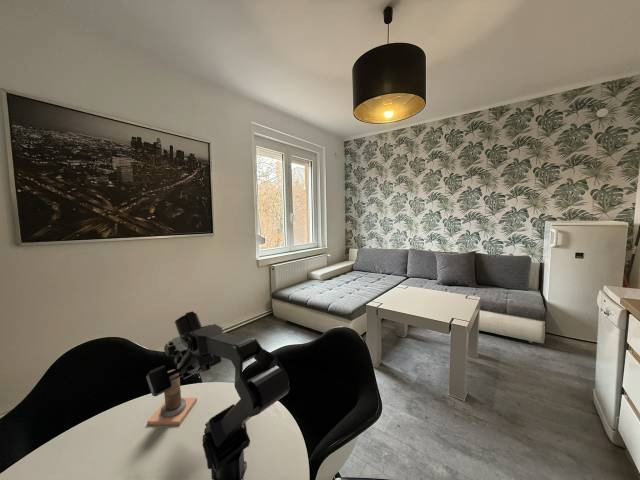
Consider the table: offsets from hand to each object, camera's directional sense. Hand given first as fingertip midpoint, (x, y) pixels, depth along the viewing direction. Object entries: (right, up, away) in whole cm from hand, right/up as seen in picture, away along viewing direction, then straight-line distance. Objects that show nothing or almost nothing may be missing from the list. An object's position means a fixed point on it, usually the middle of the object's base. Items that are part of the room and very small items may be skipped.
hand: (179, 379), depth 75 cm
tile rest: (-5, -13, +5) cm, 15 cm away
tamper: (-4, -12, +5) cm, 14 cm away
